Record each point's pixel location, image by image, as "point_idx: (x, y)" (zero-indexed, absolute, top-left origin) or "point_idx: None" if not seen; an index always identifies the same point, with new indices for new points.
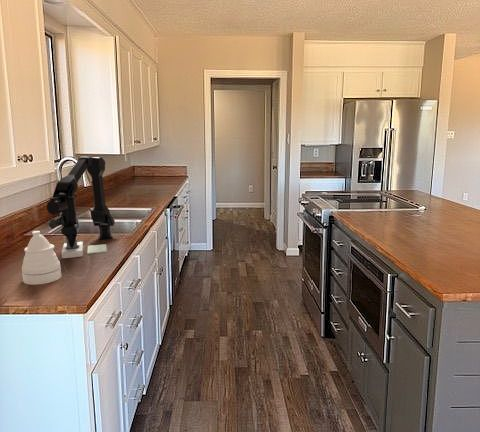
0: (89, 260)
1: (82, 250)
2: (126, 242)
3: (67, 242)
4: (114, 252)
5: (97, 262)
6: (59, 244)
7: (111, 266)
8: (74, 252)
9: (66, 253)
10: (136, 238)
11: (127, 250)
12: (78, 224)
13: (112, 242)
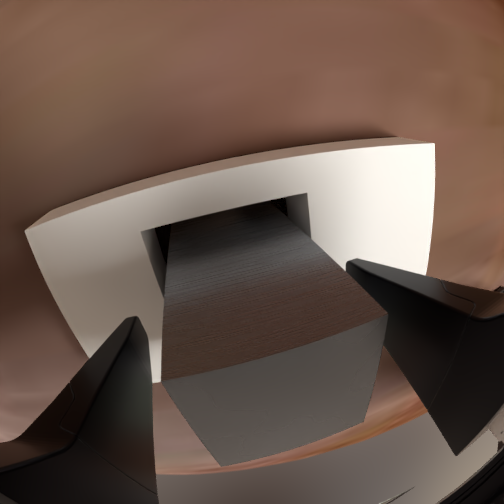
0: (49, 396)
1: None
2: (364, 428)
3: (170, 307)
4: (203, 453)
5: None
6: (482, 96)
7: None
8: (83, 336)
9: (50, 271)
10: (398, 425)
11: (230, 470)
12: (499, 444)
13: (397, 386)
